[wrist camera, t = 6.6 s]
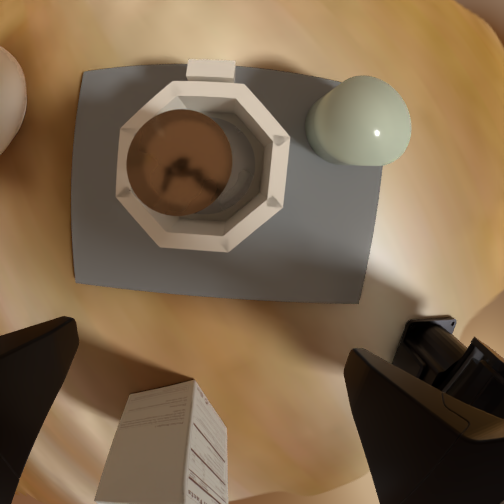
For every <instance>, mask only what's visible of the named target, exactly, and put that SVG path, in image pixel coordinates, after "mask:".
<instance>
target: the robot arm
mask: <svg viewBox="0 0 504 504" xmlns="http://www.w3.org/2000/svg"><path fill="white" fill-rule="evenodd" d="M412 324H413V325H412ZM411 325H412V326H411ZM455 325H456V319H454V318H437V319H418V320H410V321H408V322H407V324H406V327H405V330H404V333H403V336H402V339H401V341H400V344H399V347H398V350H397V352H396V355H395V358H394V360H393V363H392V364H391V363H389V362H387V361H385V360H383V359H382V358H380V357H378V356H376V355H374V354H373V353H371V352H369V351H367V350H366V349H363V348H354V349H352V350H351V351H350V353H349V356H348V359H347V362H346V365H345V368H344V378H345V383H346V388H347V393H348V397H349V402H350V407H351V411H352V415H353V418H354V421H355V424H356V427H357V430H358V433H359V436H360V440H361V443H362V446H363V449H364V452H365V455H366V459H367V462H368V465H369V468H370V472H371V475H372V478H373V481H374V485H375V488H376V492H377V495H378V499H379V502H380V504H504V359H503V358H502V357H501V356H500V355H499V354H497V353H496V352H495V351H494V350H493V349H491V348H490V347H488V346H487V345H486V344H484V343H482V342H481V341H480V340H479V339H477V338H476V337H474V338H473V339H472V341H471V344H470V346H469V347H468V348H467V347H466V346H464V345H463V344H462V343H461V342H460V341H459V340H458V339H457V338H456V337H454V336H453V335H452V333H453V331H454V328H455ZM410 326H411V327H410ZM78 345H79V337H78V332H77V325H76V321H75V319H74V318H71V317H66V316H62V317H59V318H56V319H53V320H50V321H46V322H43V323H40V324H37V325H34V326H30V327H27V328H24V329H21V330H18V331H14V332H11V333H8V334H5V335H1V336H0V504H11V503H12V500H13V497H14V494H15V491H16V488H17V485H18V483H19V478H20V477H21V474H22V472H23V469H24V466H25V464H26V461H27V459H28V457H29V454H30V452H31V449H32V447H33V445H34V442H35V440H36V438H37V436H38V433H39V431H40V429H41V427H42V425H43V422H44V420H45V418H46V416H47V414H48V412H49V410H50V408H51V406H52V404H53V402H54V400H55V398H56V396H57V394H58V392H59V390H60V388H61V386H62V384H63V382H64V380H65V378H66V375H67V373H68V370H69V368H70V365H71V363H72V360H73V358H74V355H75V353H76V351H77V348H78Z"/></svg>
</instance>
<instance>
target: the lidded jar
mask: <svg viewBox="0 0 504 504" xmlns="http://www.w3.org/2000/svg"><path fill="white" fill-rule="evenodd" d="M26 107H27V93H26V81H25V77H24V73H23V70H22V68H21V66H20V65H19V63H18V61H17V60H16V58H15V57H14V56H13V55H12V54H10V53H9V52H8V51H7V50H6V49H4V48H3V47H1V46H0V155H1V154H2V153H3V152H4V150H5V149H6V148H7V147H8V145H9V144H10V142H11V141H12V139H13V138H14V137H15V135H16V134H17V132H18V131H19V129H20V127H21V125H22V122H23V120H24V117H25V113H26Z"/></svg>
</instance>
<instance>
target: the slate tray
mask: <svg viewBox="0 0 504 504" xmlns="http://www.w3.org/2000/svg"><path fill="white" fill-rule="evenodd" d="M187 65H188V64H159V65H140V66H127V67H117V68H108V69H100V70H93V71H86V72H84V74H83V79H82V84H81V90H80V96H79V102H78V109H77V116H76V125H75V134H74V145H73V158H72V178H71V225H72V246H73V260H74V271H75V280H76V283H81V284H88V285H96V286H104V287H112V288H121V289H130V290H139V291H149V292H159V293H169V294H180V295H192V296H204V297H217V298H231V299H247V300H264V301H284V302H308V303H341V304H359V300H360V296H361V291H362V287H363V282H364V278H365V273H366V269H367V264H368V259H369V254H370V248H371V243H372V237H373V232H374V226H375V220H376V213H377V206H378V199H379V192H380V184H381V176H382V167H383V165H382V166H348V165H335V164H332V163H329V162H327V161H325V160H323V159H322V158H321V157H319V156H318V155H317V154H316V153H315V152H314V150H313V149H312V147H311V146H310V144H309V142H308V139H307V136H306V132H305V121H306V117H307V114H308V111H309V110H310V108H311V107H312V105H313V104H314V103H315V102H317V101H318V100H319V99H320V98H322V97H323V96H324V95H326V94H327V93H328V92H330V91H331V90H333V89H334V88H335V87H337V86H338V85H339V84H341V82H337V81H333V80H328V79H323V78H319V77H313V76H308V75H303V74H297V73H291V72H284V71H277V70H270V69H261V68H252V67H241V66H236V69H235V83H239V84H245V85H246V86H247V88H248V89H249V90H250V91H251V92H252V93H253V94H254V95H255V96H256V98H257V99H258V100H259V101H260V102H261V103H262V104H263V105H264V107H265V108H266V109H267V110H268V111H269V112H270V113H271V115H272V116H273V117H274V118H275V119H276V120H277V122H278V123H279V124H280V125H281V126H282V128H283V129H284V130H285V131H286V132H287V134H288V135H289V136H290V145H289V155H288V165H287V175H286V184H285V193H284V202H283V208H282V209H281V210H280V211H278V212H277V213H276V214H275V215H273V216H272V217H271V218H270V219H268V220H267V221H266V222H265V223H264V224H262V225H261V226H260V227H259V228H257V229H256V230H255V231H254V232H253V233H251V234H250V235H249V236H248V237H247V238H245V239H244V240H243V241H242V242H240V243H239V244H238V245H237V246H236V247H234V248H233V249H232V250H231V251H230V252H215V251H202V250H189V249H176V248H162V247H159V246H158V245H157V244H156V243H155V242H154V240H153V239H152V238H151V237H150V236H149V235H148V234H147V233H146V231H145V230H144V229H143V228H142V227H141V226H140V225H139V223H138V222H137V221H136V220H135V219H134V218H133V217H132V215H131V214H130V213H129V212H128V211H127V210H126V208H125V207H124V206H123V205H122V204H121V203H120V201H119V200H118V199H117V198H116V176H117V160H118V147H119V136H120V128H121V127H122V126H123V125H124V124H125V123H126V122H127V121H128V120H129V119H130V118H131V117H132V116H133V115H134V114H136V113H137V112H138V111H139V110H140V109H141V108H142V107H143V106H144V105H145V104H146V103H148V102H149V101H150V100H151V99H152V98H153V97H154V96H155V95H157V94H158V93H159V92H160V91H161V90H162V89H164V88H165V87H166V86H167V85H168V84H170V83H171V82H172V81H188V79H187V77H186V72H187Z"/></svg>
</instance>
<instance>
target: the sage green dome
mask: <svg viewBox="0 0 504 504" xmlns="http://www.w3.org/2000/svg"><path fill="white" fill-rule="evenodd" d="M305 132H306V136H307V139H308V142H309V144H310V146H311V147H312V149H313V150H314V152H315V153H316V154H317V155H318V156H319V157H321V158H322V159H323V160H325V161H327V162H329V163H332V164H335V165H348V166H382V165H387V164H390V163H392V162H394V161H395V160H397V159H398V158H399V157H400V156H401V155H402V154H403V153H404V151H405V150H406V148H407V146H408V143H409V141H410V136H411V119H410V115H409V112H408V109H407V106H406V104H405V102H404V101H403V99H402V98H401V96H400V95H399V94H398V92H397V91H396V90H395V89H394V88H392V87H391V86H390V85H389V84H387V83H386V82H384V81H382V80H380V79H378V78H375V77H371V76H355V77H352V78H349V79H347V80H345V81H344V82H342V83H341V84H339V85H338V86H337V87H335V88H334V89H333V90H331V91H330V92H328V93H327V94H326V95H324V96H323V97H322V98H320V99H319V100H318V101H317V102H315V103H314V104H313V105H312V107H311V108H310V110H309V111H308V114H307V117H306V121H305Z"/></svg>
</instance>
